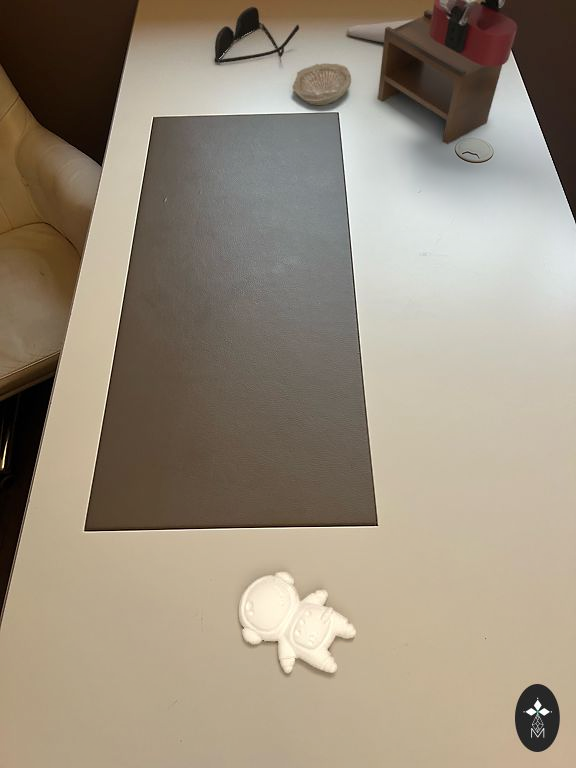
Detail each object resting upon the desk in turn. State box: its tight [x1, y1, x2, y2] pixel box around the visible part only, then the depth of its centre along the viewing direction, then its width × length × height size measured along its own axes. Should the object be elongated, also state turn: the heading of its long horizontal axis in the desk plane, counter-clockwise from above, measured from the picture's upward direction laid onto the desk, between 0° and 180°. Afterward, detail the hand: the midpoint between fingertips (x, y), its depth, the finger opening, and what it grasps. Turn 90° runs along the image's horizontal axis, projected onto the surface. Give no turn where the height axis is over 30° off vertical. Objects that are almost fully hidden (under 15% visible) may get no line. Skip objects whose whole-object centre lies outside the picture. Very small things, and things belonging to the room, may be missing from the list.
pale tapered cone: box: [346, 19, 414, 44], centre depth 124 cm, size 8×9×26 cm
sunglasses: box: [213, 6, 300, 64], centre depth 124 cm, size 17×14×5 cm
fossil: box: [292, 63, 352, 106], centre depth 117 cm, size 10×12×3 cm
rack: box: [377, 9, 503, 145], centre depth 109 cm, size 10×18×13 cm, turn 37°
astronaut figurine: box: [238, 571, 357, 674], centre depth 63 cm, size 9×12×3 cm
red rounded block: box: [429, 0, 518, 67], centre depth 90 cm, size 14×6×4 cm, turn 39°
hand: (469, 40), depth 91 cm, fingers closed on red rounded block, 5 cm apart
